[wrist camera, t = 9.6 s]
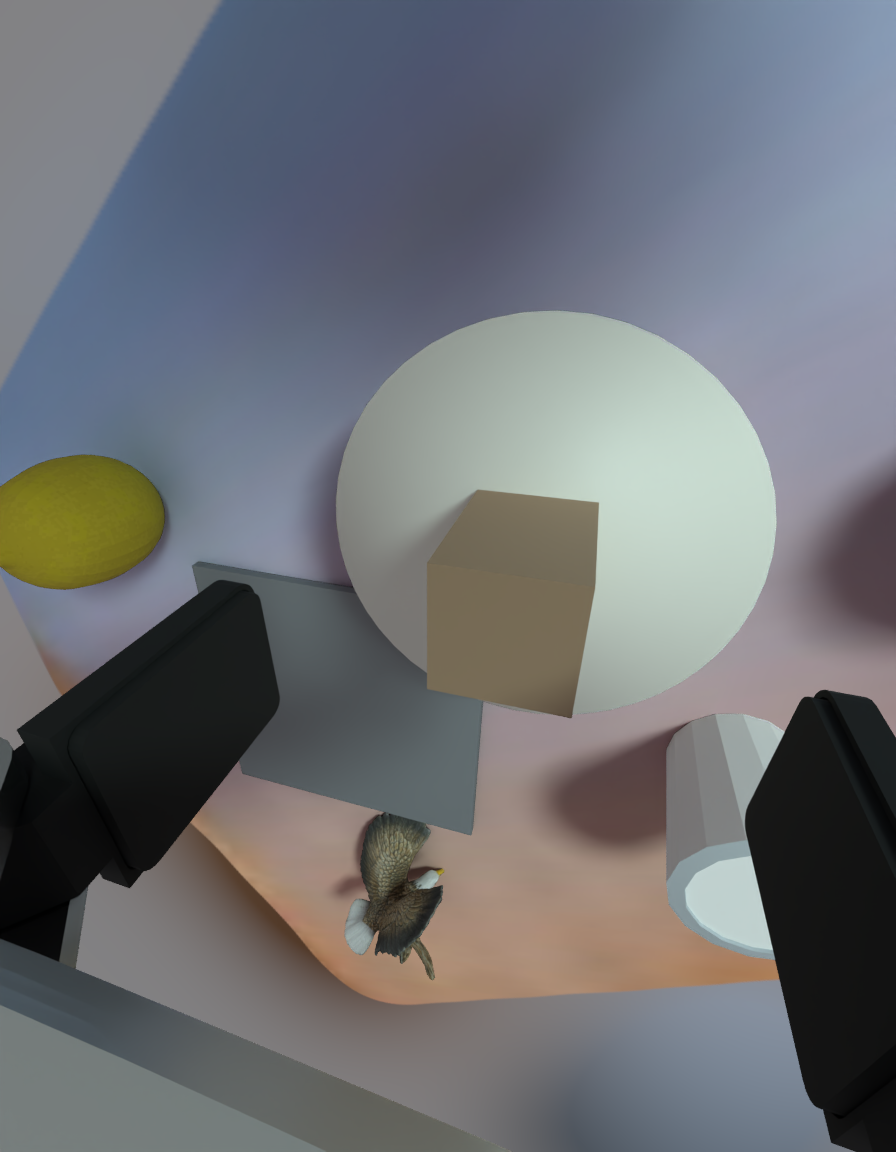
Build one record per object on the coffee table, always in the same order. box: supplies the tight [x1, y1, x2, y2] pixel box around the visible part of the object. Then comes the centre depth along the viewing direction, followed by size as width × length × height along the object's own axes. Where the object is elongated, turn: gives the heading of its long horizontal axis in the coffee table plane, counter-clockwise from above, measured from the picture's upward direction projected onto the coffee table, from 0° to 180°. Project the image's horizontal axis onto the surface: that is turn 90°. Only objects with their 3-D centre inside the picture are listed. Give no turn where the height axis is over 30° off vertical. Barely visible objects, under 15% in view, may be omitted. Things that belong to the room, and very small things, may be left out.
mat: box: [192, 562, 483, 835], centre depth 29 cm, size 16×16×1 cm
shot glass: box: [666, 714, 785, 960], centre depth 21 cm, size 7×7×7 cm
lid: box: [336, 310, 777, 718], centre depth 14 cm, size 13×13×6 cm
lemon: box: [0, 455, 165, 590], centre depth 23 cm, size 6×6×8 cm
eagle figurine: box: [345, 813, 444, 980], centre depth 32 cm, size 8×7×9 cm
